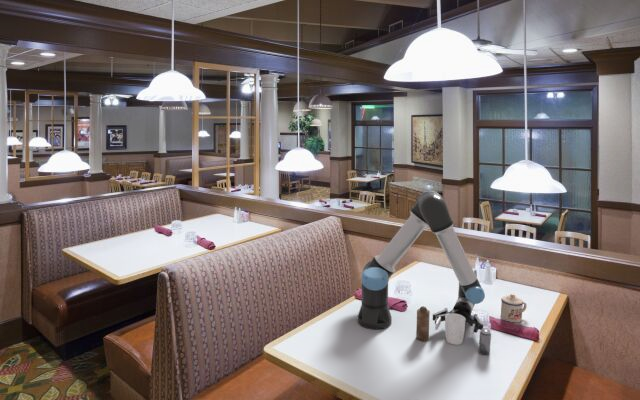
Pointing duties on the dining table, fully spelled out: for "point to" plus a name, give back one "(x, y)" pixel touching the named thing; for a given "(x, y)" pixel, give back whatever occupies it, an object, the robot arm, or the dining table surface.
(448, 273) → the dining table surface
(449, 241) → the robot arm
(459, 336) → the white cup
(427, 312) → the pepper mill
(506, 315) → the teacup with lid
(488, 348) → the salt shaker
